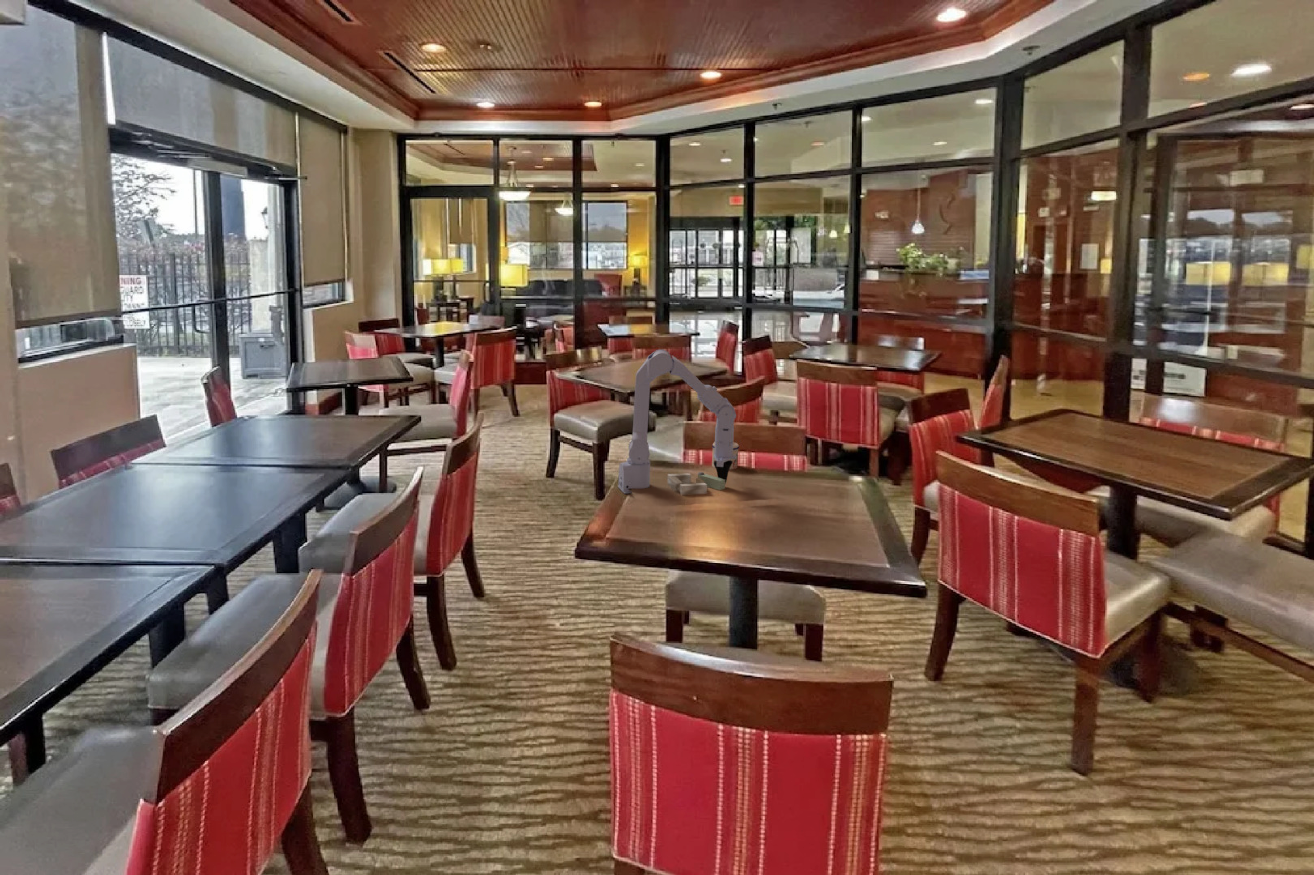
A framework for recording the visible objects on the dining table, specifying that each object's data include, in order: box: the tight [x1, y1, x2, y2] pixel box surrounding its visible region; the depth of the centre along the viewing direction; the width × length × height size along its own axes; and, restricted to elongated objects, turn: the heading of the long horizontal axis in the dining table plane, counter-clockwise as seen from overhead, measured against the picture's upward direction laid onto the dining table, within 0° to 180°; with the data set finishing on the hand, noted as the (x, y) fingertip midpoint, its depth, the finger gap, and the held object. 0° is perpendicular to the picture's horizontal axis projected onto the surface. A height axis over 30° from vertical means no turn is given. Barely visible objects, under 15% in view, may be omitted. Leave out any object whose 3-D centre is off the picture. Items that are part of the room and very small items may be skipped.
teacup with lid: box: [711, 441, 740, 470], centre depth 306 cm, size 12×9×12 cm
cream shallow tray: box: [667, 472, 708, 496], centre depth 279 cm, size 14×14×4 cm
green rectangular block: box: [697, 471, 726, 491], centre depth 281 cm, size 2×10×3 cm, turn 45°
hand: (722, 483), depth 281 cm, fingers closed, pressing on green rectangular block
